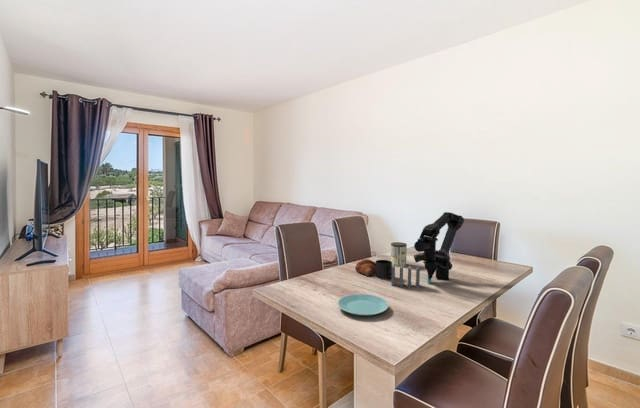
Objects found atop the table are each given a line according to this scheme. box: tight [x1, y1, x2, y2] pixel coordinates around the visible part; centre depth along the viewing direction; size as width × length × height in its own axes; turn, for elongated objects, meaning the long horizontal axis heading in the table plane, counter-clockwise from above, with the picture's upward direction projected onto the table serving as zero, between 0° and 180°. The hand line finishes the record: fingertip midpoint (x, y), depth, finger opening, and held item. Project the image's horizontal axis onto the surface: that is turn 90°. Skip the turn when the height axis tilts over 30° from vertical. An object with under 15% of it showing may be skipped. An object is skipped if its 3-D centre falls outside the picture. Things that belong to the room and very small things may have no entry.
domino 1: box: [391, 265, 396, 287], centre depth 166 cm, size 2×5×10 cm, turn 165°
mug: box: [374, 259, 392, 280], centre depth 178 cm, size 9×12×9 cm
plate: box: [337, 293, 390, 317], centre depth 135 cm, size 22×22×3 cm
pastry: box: [354, 259, 376, 277], centre depth 190 cm, size 17×15×8 cm
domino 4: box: [415, 266, 421, 289], centre depth 163 cm, size 2×5×10 cm, turn 165°
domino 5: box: [426, 274, 432, 285], centre depth 169 cm, size 2×5×10 cm, turn 165°
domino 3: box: [407, 265, 412, 288], centre depth 164 cm, size 2×5×10 cm, turn 165°
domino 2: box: [399, 266, 404, 288], centre depth 165 cm, size 2×5×10 cm, turn 165°
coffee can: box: [390, 241, 408, 267], centre depth 206 cm, size 10×10×14 cm
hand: (429, 277), depth 169 cm, fingers open, 6 cm apart
